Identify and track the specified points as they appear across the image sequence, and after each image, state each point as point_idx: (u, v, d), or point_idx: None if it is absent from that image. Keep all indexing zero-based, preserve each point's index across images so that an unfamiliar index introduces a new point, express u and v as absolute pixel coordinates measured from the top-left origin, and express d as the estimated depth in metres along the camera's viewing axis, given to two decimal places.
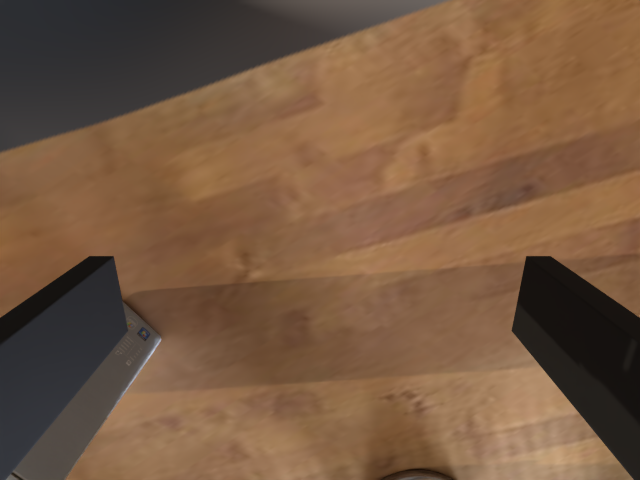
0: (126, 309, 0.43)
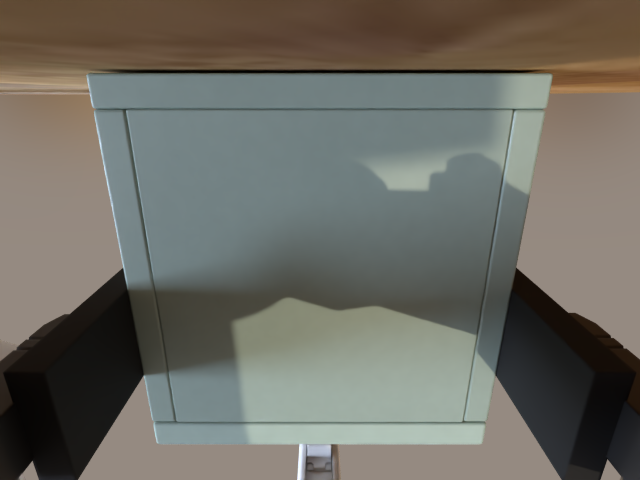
0: None
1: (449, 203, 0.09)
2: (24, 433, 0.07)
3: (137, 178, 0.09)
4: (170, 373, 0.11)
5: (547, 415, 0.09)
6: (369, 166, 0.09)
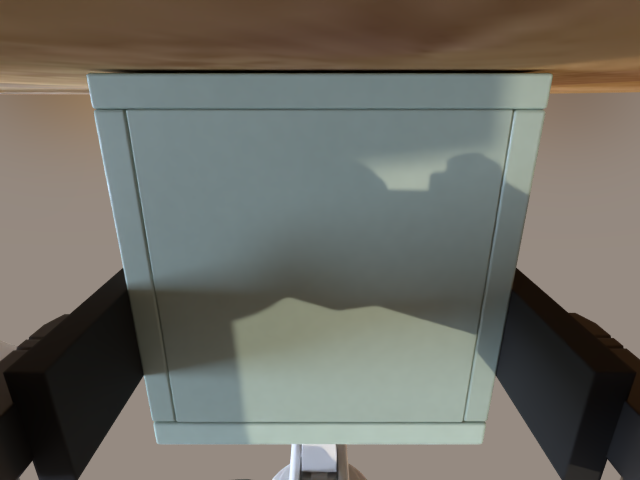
0: None
1: (449, 204, 0.09)
2: (24, 433, 0.07)
3: (137, 178, 0.09)
4: (170, 373, 0.11)
5: (546, 415, 0.09)
6: (369, 166, 0.09)
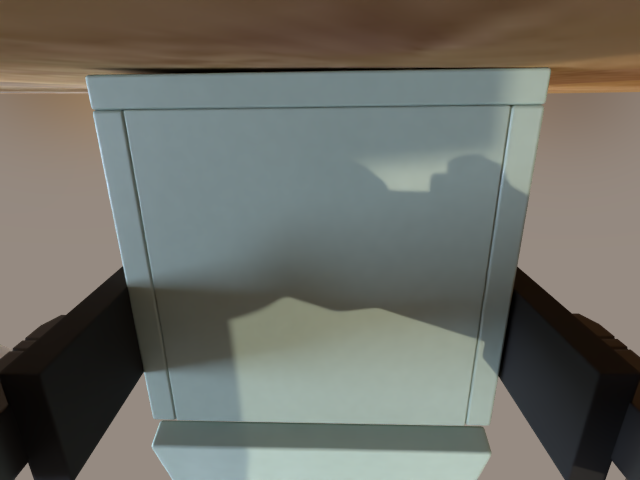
0: None
1: (446, 201, 0.09)
2: (19, 435, 0.07)
3: (135, 178, 0.09)
4: (170, 371, 0.11)
5: (550, 416, 0.08)
6: (364, 164, 0.09)
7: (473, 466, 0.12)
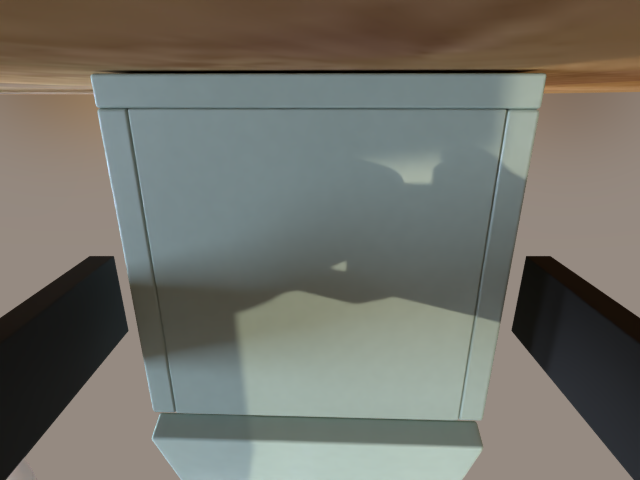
0: None
1: (443, 202, 0.09)
2: None
3: (139, 175, 0.09)
4: (170, 365, 0.11)
5: None
6: (363, 165, 0.09)
7: (465, 459, 0.12)
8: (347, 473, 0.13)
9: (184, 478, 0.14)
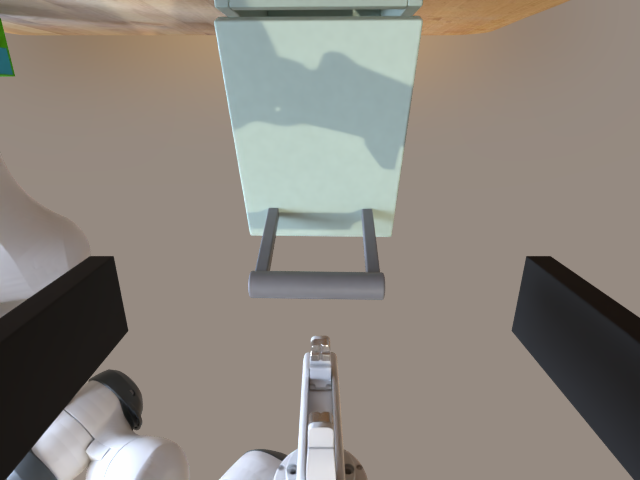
0: None
1: None
2: None
3: None
4: None
5: None
6: None
7: (412, 38, 0.19)
8: (338, 72, 0.20)
9: (229, 92, 0.21)
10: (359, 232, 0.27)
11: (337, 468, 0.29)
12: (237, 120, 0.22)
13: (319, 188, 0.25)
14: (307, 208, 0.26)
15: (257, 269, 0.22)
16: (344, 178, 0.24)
